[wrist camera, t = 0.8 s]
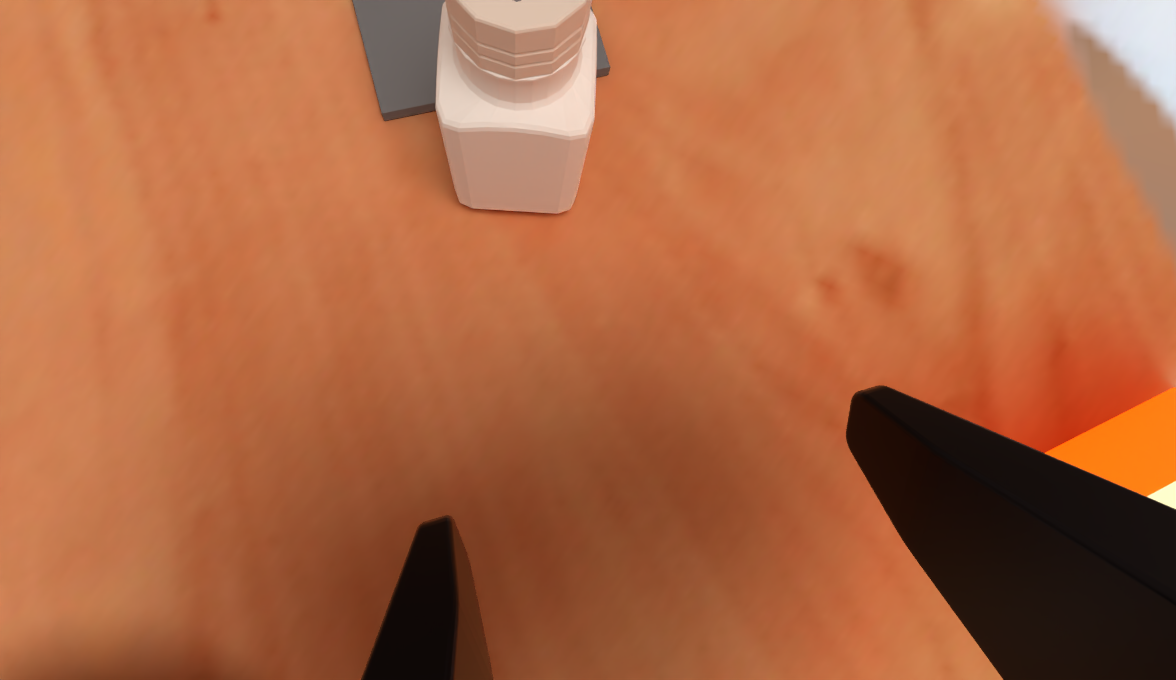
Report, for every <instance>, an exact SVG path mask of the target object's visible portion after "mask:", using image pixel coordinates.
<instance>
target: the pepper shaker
mask: <svg viewBox="0 0 1176 680" xmlns="http://www.w3.org/2000/svg"><path fill="white" fill-rule="evenodd" d="M591 4H592V0H445V2H444V3H443V6H442V13H441V22H440V31H439V43H438V57H437V75H436V106H435V108H436V113H437V117H438V121H439V125H440V129H441V133H442V138H443V142H444V146H445V150H446V154H447V159H448V163H449V167H450V171H451V175H452V179H453V184H454V188H455V191H456V194H457V197H458V199H459V202H460V203H462V204H464V205H466V206H468V207H470V208H474V209H490V210H506V211H523V212H539V213H556V214H558V213H561V212H564V211H568V210H570V209H571V207H572V205H573V203H574V201H575V198H576V195H577V191H578V187H579V182H580V178H581V174H582V170H583V166H584V161H585V157H586V153H587V149H588V145H589V140H590V136H591V132H592V128H593V124H594V116H595V95H596V67H597V21H596V18H595V16H594V14H593V12H592V11H591V9H590V8H591Z"/></svg>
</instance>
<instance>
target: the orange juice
mask: <svg viewBox="0 0 1176 680" xmlns="http://www.w3.org/2000/svg"><path fill="white" fill-rule="evenodd" d="M1045 454H1048V455H1050V456H1052V457H1055V458H1057V459H1059V460H1062V461H1064V462H1066V463H1069V464H1071V465H1073V466H1076V467H1078V468H1080V469H1083V470H1085V471H1088V472H1090V473H1092V474H1095V475H1097V476H1099V477H1102V478H1104V479H1106V480H1109V481H1111V482H1113V483H1116V484H1118V485H1120V486H1123V487H1125V488H1128V489H1130V490H1132V491H1135V492H1137V493H1139V494H1142V495H1144V496H1146V497H1149V498H1151V499H1153V500H1156V501H1158V502H1160V503H1163V504H1165V505H1168V506H1170V507H1172V508H1175V509H1176V387H1175V388H1171V389H1169V390H1167V391H1165V392H1164V393H1162V394H1160V395H1158V396H1156V397H1154V398H1152V399H1150V400H1148V401H1146V402H1144V403H1142V404H1140V405H1138V406H1136V407H1134V408H1132V409H1130V410H1128V411H1126V412H1124V413H1122V414H1120V415H1118V416H1116V417H1114V418H1112V419H1110V420H1108V421H1106V422H1104V423H1102V424H1101V425H1099V426H1097V427H1095V428H1093V429H1091V430H1089V431H1087V432H1085V433H1083V434H1081V435H1079V436H1077V437H1075V438H1073V439H1071V440H1069V441H1067V442H1065V443H1063V444H1061V445H1059V446H1057V447H1055V448H1053V449H1051V450H1049V451H1047V452H1045Z"/></svg>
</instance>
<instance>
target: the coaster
mask: <svg viewBox="0 0 1176 680" xmlns="http://www.w3.org/2000/svg"><path fill="white" fill-rule="evenodd" d="M444 2H445V0H353V4H354V8H355V12H356V16H357V20H358V24H359V27H360V31H361V35H362V39H363V43H364V47H365V51H366V55H367V58H368V62H369V66H370V70H371V74H372V78H373V82H374V85H375V89H376V93H377V97H378V101H379V105H380V109H381V112H382V115H383V118H384V120H385V121H387V120H392V119H397V118H402V117H406V116H411V115H416V114H421V113H426V112H431V111H436V108H435V106H436V75H437V57H438V43H439V31H440V22H441V13H442V6H443V3H444ZM590 9H591V11H592V12H593V10H592V7H591V8H590ZM593 14H594V13H593ZM609 70H610V65H609V62H608V58H607V55H606V52H605V49H604V46H603V42H602V39H601V36H600V33H599V29H598V26H597V67H596V77H601V76H605V75H608V74H609Z"/></svg>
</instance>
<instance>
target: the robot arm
mask: <svg viewBox="0 0 1176 680" xmlns="http://www.w3.org/2000/svg"><path fill="white" fill-rule="evenodd" d="M846 440H847V444H848V446H849V449H850V451H851V453H852V454H853V456H854V458H855V460H856V461H857V463H858V465H859V466H860V468H861V470H862V472H863V473H864V475H865V477H866V478H867V480H868V482H869V484H870V485H871V487H872V489H873V491H874V492H875V494H876V496H877V497H878V499H879V501H880V503H881V504H882V506H883V508H884V510H885V511H886V513H887V515H888V516H889V518H890V520H891V522H892V523H893V525H894V527H895V528H896V530H897V532H898V533H899V535H900V537H901V538H902V540H903V541H904V543H905V544H906V546H907V547H908V549H909V550H910V552H911V553H912V554H913V556H914V557H915V559H916V560H917V561H918V563H919V564H920V566H921V567H922V568H923V570H924V571H925V572H926V574H927V575H928V577H929V578H930V579H931V581H932V582H933V583H934V585H935V586H936V588H937V589H938V590H939V592H940V593H941V594H942V596H943V597H944V599H945V600H946V601H947V603H948V604H949V605H950V607H951V608H952V610H953V611H954V612H955V614H956V615H957V616H958V618H959V619H960V621H961V622H962V623H963V625H964V626H965V627H966V629H967V630H968V632H969V633H970V634H971V636H972V637H973V638H974V640H975V641H976V643H977V644H978V645H979V647H980V648H981V649H982V651H983V652H984V654H985V655H986V656H987V658H988V659H989V660H990V662H991V663H992V665H993V666H994V667H995V669H996V670H997V671H998V673H999V674H1000V676H1001V677H1002V678H1003V680H1176V509H1175V508H1172V507H1170V506H1168V505H1165V504H1163V503H1160V502H1158V501H1156V500H1153V499H1151V498H1149V497H1146V496H1144V495H1142V494H1139V493H1137V492H1135V491H1132V490H1130V489H1128V488H1125V487H1123V486H1120V485H1118V484H1116V483H1113V482H1111V481H1109V480H1106V479H1104V478H1102V477H1099V476H1097V475H1095V474H1092V473H1090V472H1088V471H1085V470H1083V469H1080V468H1078V467H1076V466H1073V465H1071V464H1069V463H1066V462H1064V461H1062V460H1059V459H1057V458H1055V457H1052V456H1050V455H1048V454H1045V453H1043V452H1040V451H1038V450H1036V449H1033V448H1031V447H1029V446H1026V445H1024V444H1022V443H1019V442H1017V441H1015V440H1012V439H1010V438H1008V437H1005V436H1003V435H1000V434H998V433H996V432H993V431H991V430H989V429H986V428H984V427H982V426H979V425H977V424H975V423H972V422H970V421H968V420H965V419H963V418H960V417H958V416H956V415H953V414H951V413H949V412H946V411H944V410H942V409H939V408H937V407H935V406H932V405H930V404H928V403H925V402H923V401H920V400H918V399H916V398H913V397H911V396H909V395H906V394H904V393H902V392H899V391H897V390H895V389H892V388H890V387H887V386H875V387H871V388H868V389H865V390H861V391H858V392H856V393H855V394H854V396H853V397H852V400H851V405H850V411H849V417H848V423H847V429H846ZM361 680H493V675H492V669H491V663H490V658H489V653H488V649H487V644H486V639H485V634H484V629H483V624H482V619H481V614H480V609H479V604H478V599H477V595H476V590H475V585H474V580H473V575H472V570H471V566H470V562H469V558H468V555H467V552H466V549H465V547H464V544H463V542H462V539H461V536H460V534H459V531H458V529H457V526H456V524H455V521H454V519H453V518H452V517H451V516H449V515H445V516H442V517H438V518H435V519H432V520H428V521H425V522H423V523H421V524H420V525H419V526H418V528H417V530H416V533H415V536H414V538H413V541H412V544H411V546H410V549H409V552H408V554H407V557H406V560H405V562H404V565H403V568H402V571H401V573H400V576H399V579H398V581H397V584H396V587H395V589H394V592H393V595H392V597H391V600H390V603H389V605H388V608H387V611H386V614H385V616H384V619H383V622H382V624H381V627H380V630H379V632H378V635H377V638H376V640H375V643H374V646H373V648H372V651H371V654H370V657H369V659H368V662H367V665H366V667H365V670H364V673H363V675H362V678H361Z"/></svg>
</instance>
